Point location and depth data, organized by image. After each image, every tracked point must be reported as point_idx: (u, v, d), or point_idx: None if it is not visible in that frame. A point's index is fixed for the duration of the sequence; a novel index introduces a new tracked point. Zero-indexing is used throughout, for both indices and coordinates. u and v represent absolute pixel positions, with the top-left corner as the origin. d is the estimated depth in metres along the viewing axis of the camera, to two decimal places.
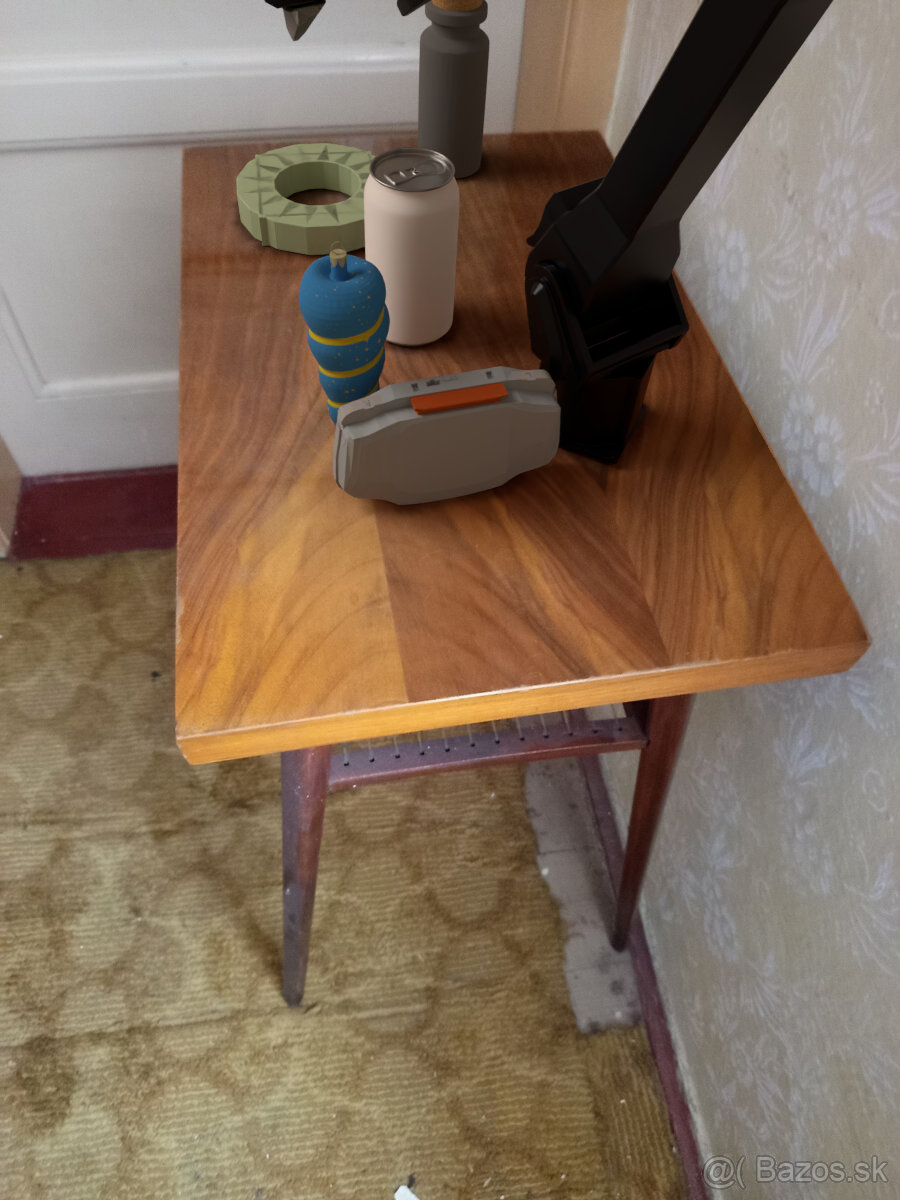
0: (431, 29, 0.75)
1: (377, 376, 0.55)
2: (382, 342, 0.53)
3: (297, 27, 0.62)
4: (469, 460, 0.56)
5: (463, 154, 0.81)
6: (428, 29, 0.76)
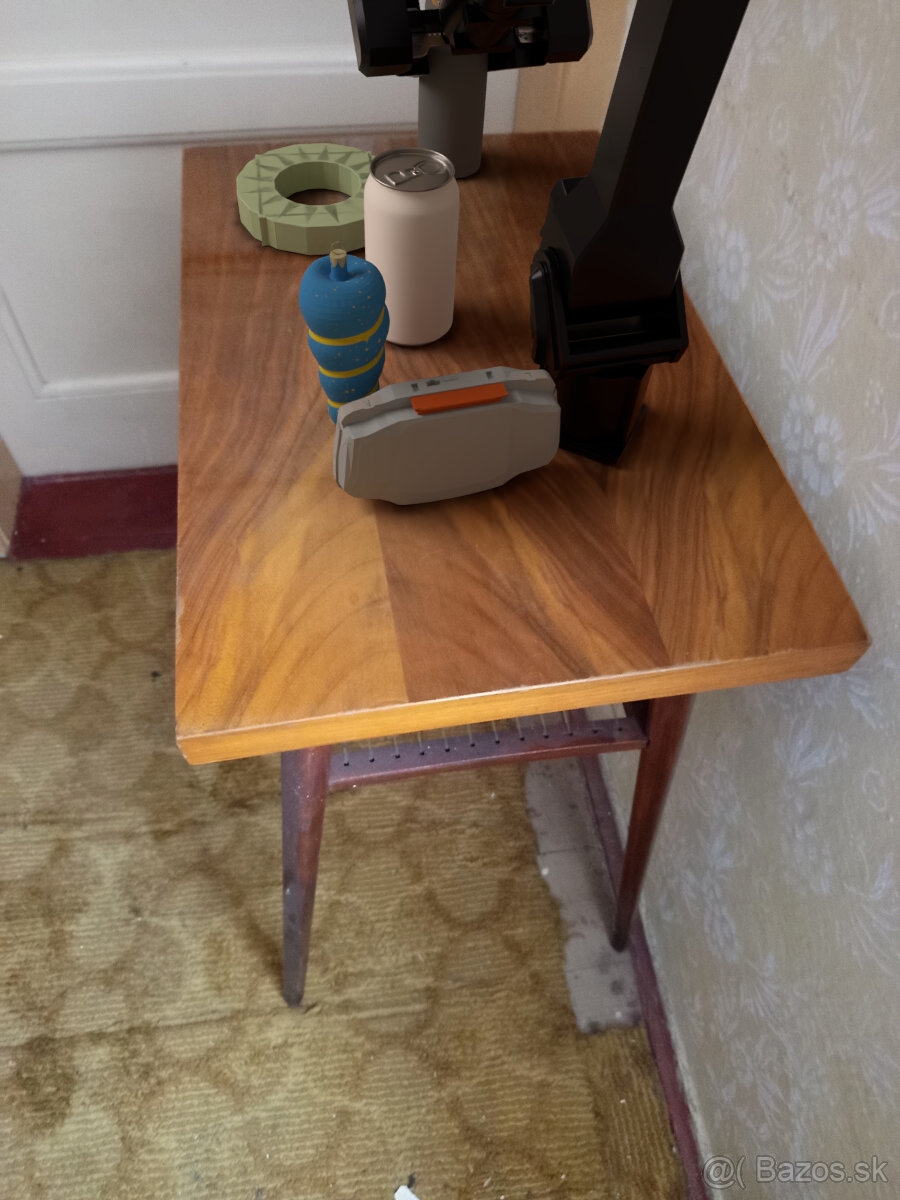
0: None
1: (377, 376, 0.55)
2: (382, 342, 0.53)
3: None
4: (469, 460, 0.56)
5: (463, 154, 0.81)
6: None
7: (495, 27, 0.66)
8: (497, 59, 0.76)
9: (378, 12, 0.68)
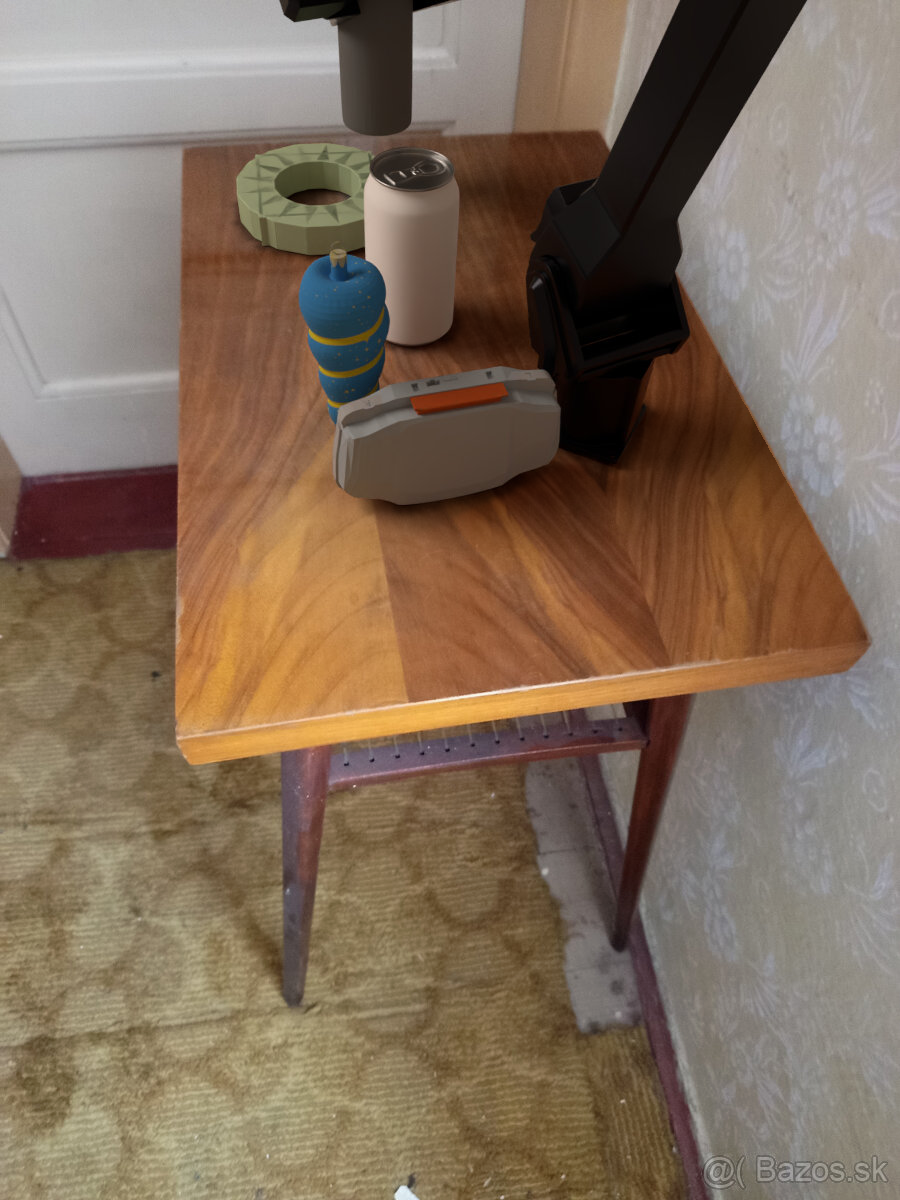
0: None
1: (377, 376, 0.55)
2: (382, 342, 0.53)
3: (334, 22, 0.68)
4: (469, 460, 0.56)
5: (396, 106, 0.74)
6: None
7: None
8: None
9: None
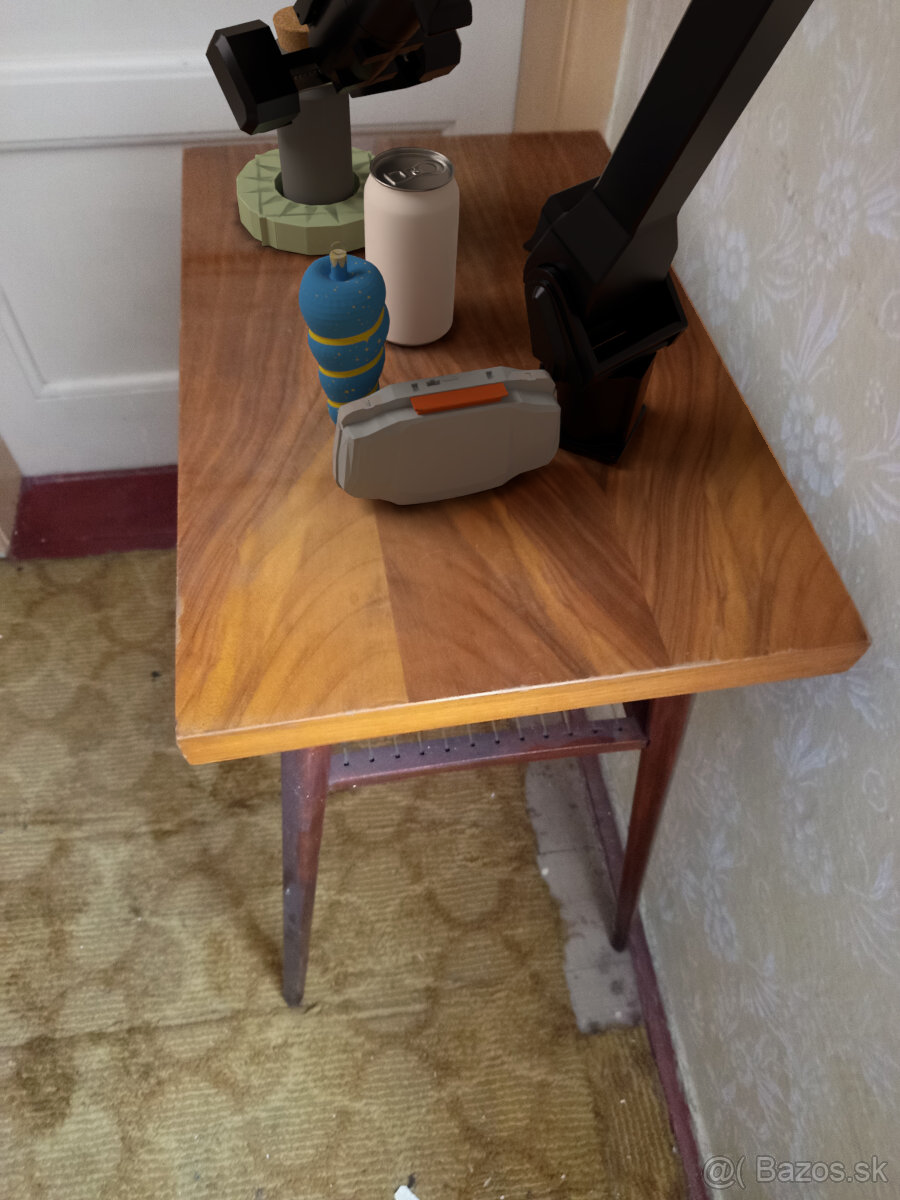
0: None
1: (377, 376, 0.55)
2: (382, 342, 0.53)
3: None
4: (469, 460, 0.56)
5: (342, 200, 0.75)
6: None
7: (388, 57, 0.61)
8: None
9: (253, 63, 0.61)
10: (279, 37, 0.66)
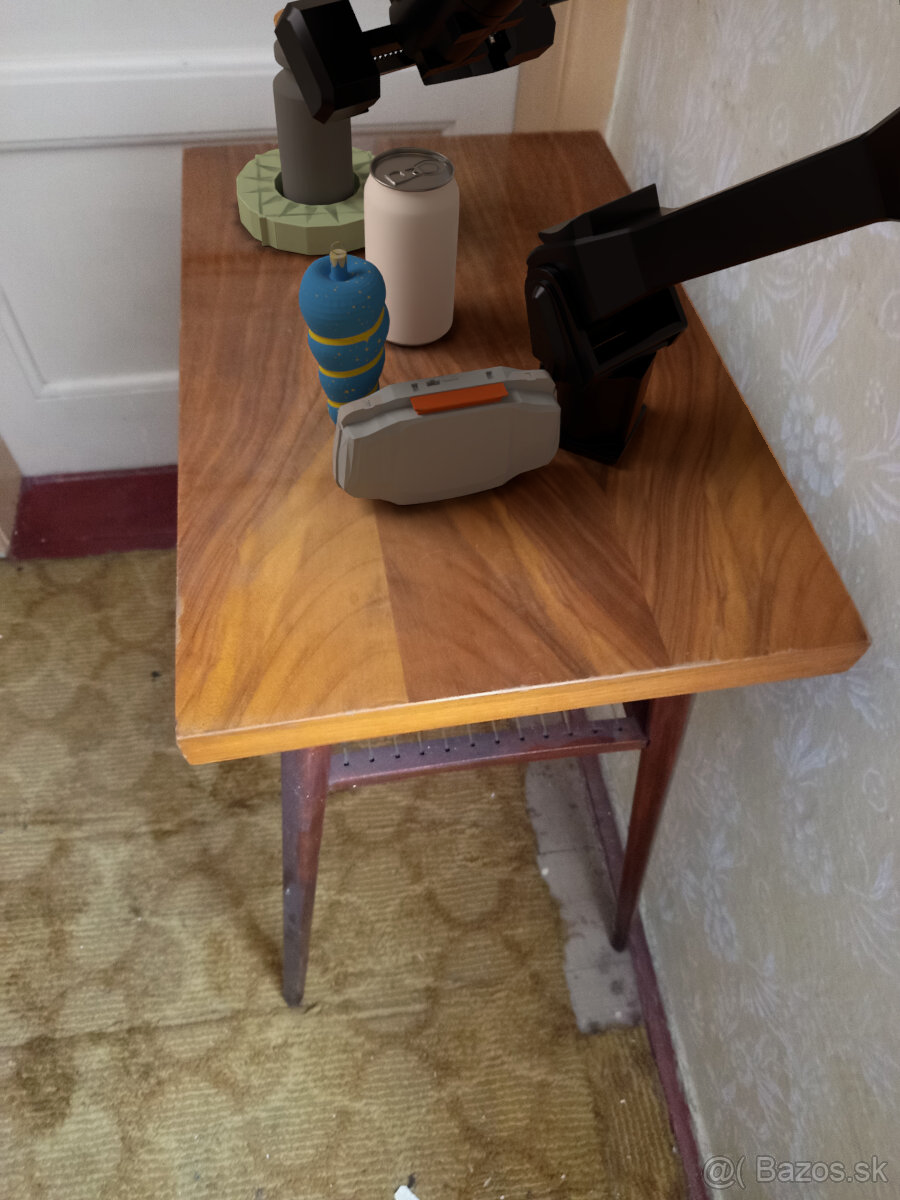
0: (286, 78, 0.69)
1: (377, 376, 0.55)
2: (382, 342, 0.53)
3: None
4: (469, 460, 0.56)
5: (342, 200, 0.75)
6: (281, 78, 0.69)
7: (484, 34, 0.53)
8: None
9: (331, 41, 0.53)
10: None
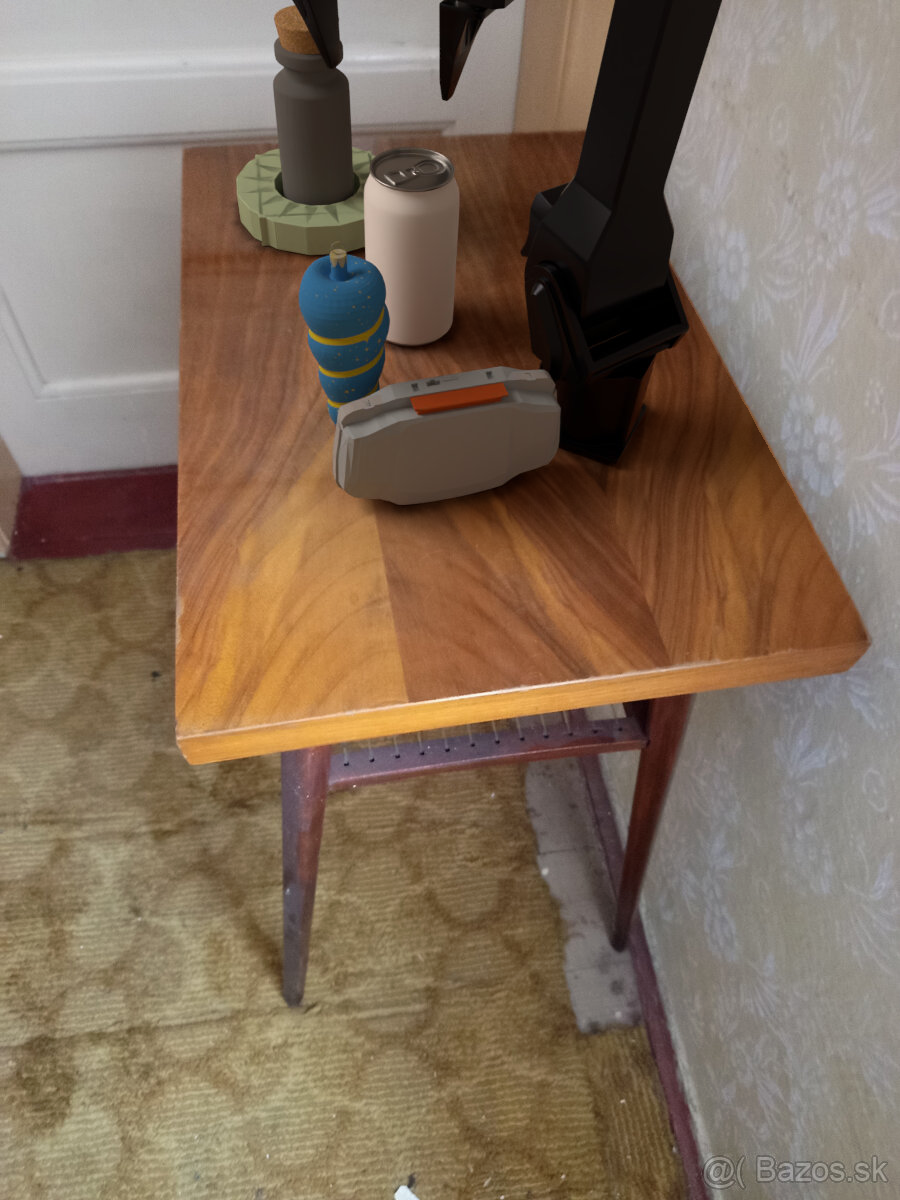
0: (286, 77, 0.69)
1: (377, 376, 0.55)
2: (382, 342, 0.53)
3: (306, 25, 0.63)
4: (469, 460, 0.56)
5: (342, 199, 0.75)
6: (281, 77, 0.69)
7: None
8: None
9: None
10: (280, 37, 0.66)
